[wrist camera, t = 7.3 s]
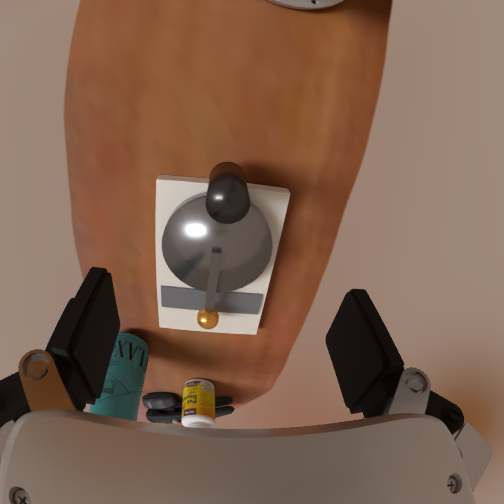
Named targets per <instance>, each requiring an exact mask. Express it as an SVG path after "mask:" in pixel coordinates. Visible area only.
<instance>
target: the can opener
mask: <svg viewBox="0 0 504 504" xmlns="http://www.w3.org/2000/svg"><path fill="white" fill-rule="evenodd" d="M142 401H143V404H144V406H145V407H147V408H149V409H148V411H147V413H146V417H147V419H148V421H150V422H153V423H165V424H166V425H169V424H171V423H174V424H178V423H179V422H182V421H181V420H182V404H183V402H178V400H177V399H176V397H175V396H174V395H173V394H172V393H169V392H155V393H150V394H147V395H145V396H143V397H142ZM232 401H233V400H232V398H231V397H215V407H218V408H215V417H220V416H224V415H227V414H231V413H232V412H233V411H234V408H233V407H232V406H224V405H228V404H230V403H231V402H232ZM219 406H224V407H219Z"/></svg>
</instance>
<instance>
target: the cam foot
mask: <svg viewBox="0 0 504 504" xmlns="http://www.w3.org/2000/svg"><path fill="white" fill-rule="evenodd" d="M272 250H273V242H272V236H271V232H270V229H269V225H268V222H267V220H266V218H265V216H264V215H263V213H262V212H261V211H260V209H259V208H258V207H257V206H256V205H255V204H253V203H252V202H251V201H250V197H249V193H248V188H247V183H246V178H245V174H244V171H243V170H242V168H241V167H240V166H239V165H237V164H236V163H233V162H222V163H220V164H218V165H216V166H215V167H214V168H213V169H212V171H211V173H210V178H209V183H208V189H207V192H203V193H200V194H196V195H194V196H192V197H190V198H188V199H186V200H185V201H183V202H182V203H181V204H180V205H179V206H177V208H176V209H175V210H174V211H173V212H172V214H171V216H170V217H169V219H168V222H167V224H166V226H165V229H164V232H163V236H162V253H163V257H164V260H165V262H166V264H167V266H168V268H169V269H170V270H171V272H172V273H173V274H174V275H175V276H176V277H177V278H178V279H179V280H180V281H182V282H183V283H185V284H186V285H188V286H190V287H192V288H195V289H197V290H201V291H205V292H206V300H205V307H204V308H202V309H201V310H200V311H199V312H198V314H197V322H198V324H199V325H200V326H201V327H202V328H204V329H212V328H214V327H216V326H217V324H218V322H219V314H218V312H217V311H216V310H215V309H214V303H215V296H216V293H223V292H230V291H234V290H238V289H240V288H243V287H245V286H247V285H249V284H250V283H252V282H253V281H255V280H256V279H257V278H258V277H259V276H260V275H261V274H262V273H263V272H264V270H265V269H266V267H267V265H268V263H269V261H270V259H271V255H272Z"/></svg>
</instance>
